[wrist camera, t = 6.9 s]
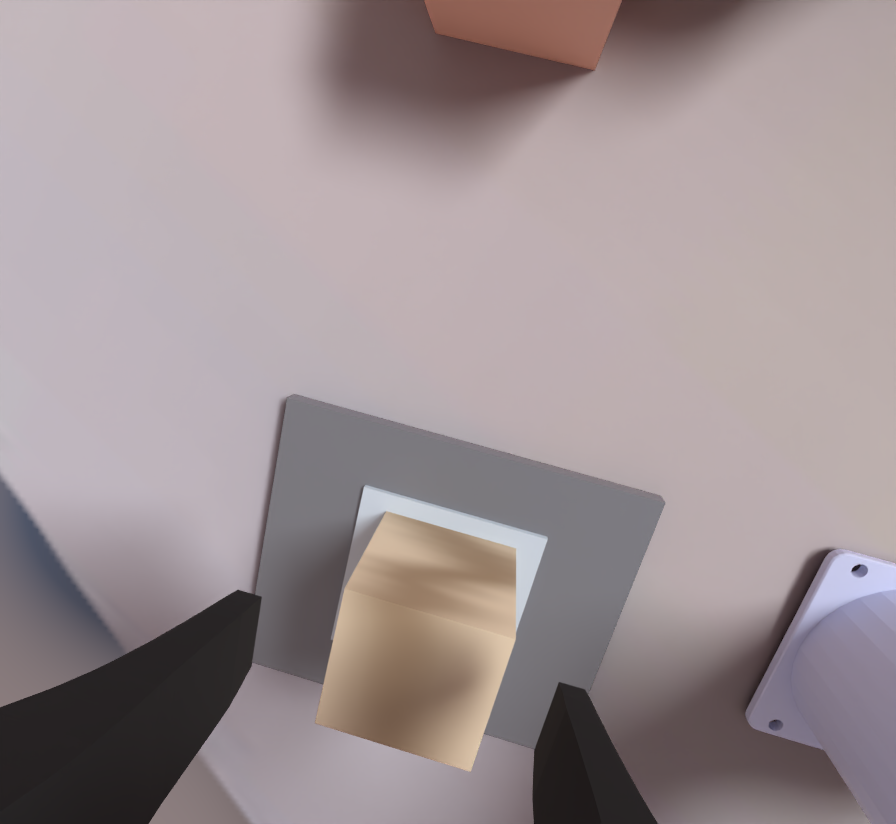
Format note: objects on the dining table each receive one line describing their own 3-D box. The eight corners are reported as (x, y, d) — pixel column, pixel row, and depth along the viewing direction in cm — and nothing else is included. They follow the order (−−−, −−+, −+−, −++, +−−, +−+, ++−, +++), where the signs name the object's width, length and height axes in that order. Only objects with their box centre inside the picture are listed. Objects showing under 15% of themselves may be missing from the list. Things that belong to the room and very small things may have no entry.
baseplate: (660, 495, 19) (666, 505, 18) (561, 745, 23) (562, 762, 22) (293, 393, 20) (284, 399, 19) (250, 650, 23) (241, 663, 23)
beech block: (516, 548, 20) (515, 639, 15) (481, 656, 21) (470, 771, 16) (386, 511, 20) (344, 588, 15) (360, 620, 21) (314, 723, 16)
